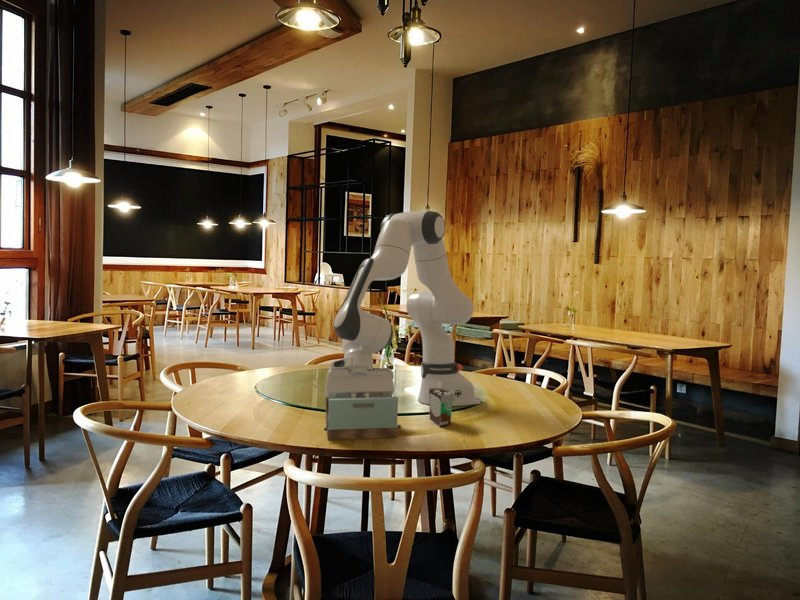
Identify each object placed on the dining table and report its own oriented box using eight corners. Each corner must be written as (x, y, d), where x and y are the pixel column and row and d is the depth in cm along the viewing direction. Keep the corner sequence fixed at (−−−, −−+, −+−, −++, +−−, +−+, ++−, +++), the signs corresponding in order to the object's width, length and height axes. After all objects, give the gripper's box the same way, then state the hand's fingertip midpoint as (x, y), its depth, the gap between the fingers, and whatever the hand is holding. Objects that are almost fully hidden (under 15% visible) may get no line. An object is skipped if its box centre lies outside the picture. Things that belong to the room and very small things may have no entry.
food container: (460, 427, 201) (460, 395, 200) (441, 428, 199) (441, 396, 198) (446, 417, 213) (446, 386, 212) (428, 418, 211) (428, 387, 210)
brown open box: (393, 424, 204) (393, 392, 203) (400, 438, 189) (401, 404, 188) (322, 426, 200) (322, 394, 199) (324, 440, 186) (324, 406, 185)
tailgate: (396, 425, 190) (397, 396, 188) (397, 428, 188) (398, 399, 186) (328, 427, 187) (328, 398, 185) (328, 430, 185) (329, 400, 183)
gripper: (391, 373, 200) (395, 413, 191) (324, 374, 197) (325, 415, 188) (393, 362, 195) (397, 402, 187) (324, 362, 192) (325, 403, 184)
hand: (360, 408), depth 187 cm, fingers closed, pressing on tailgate
